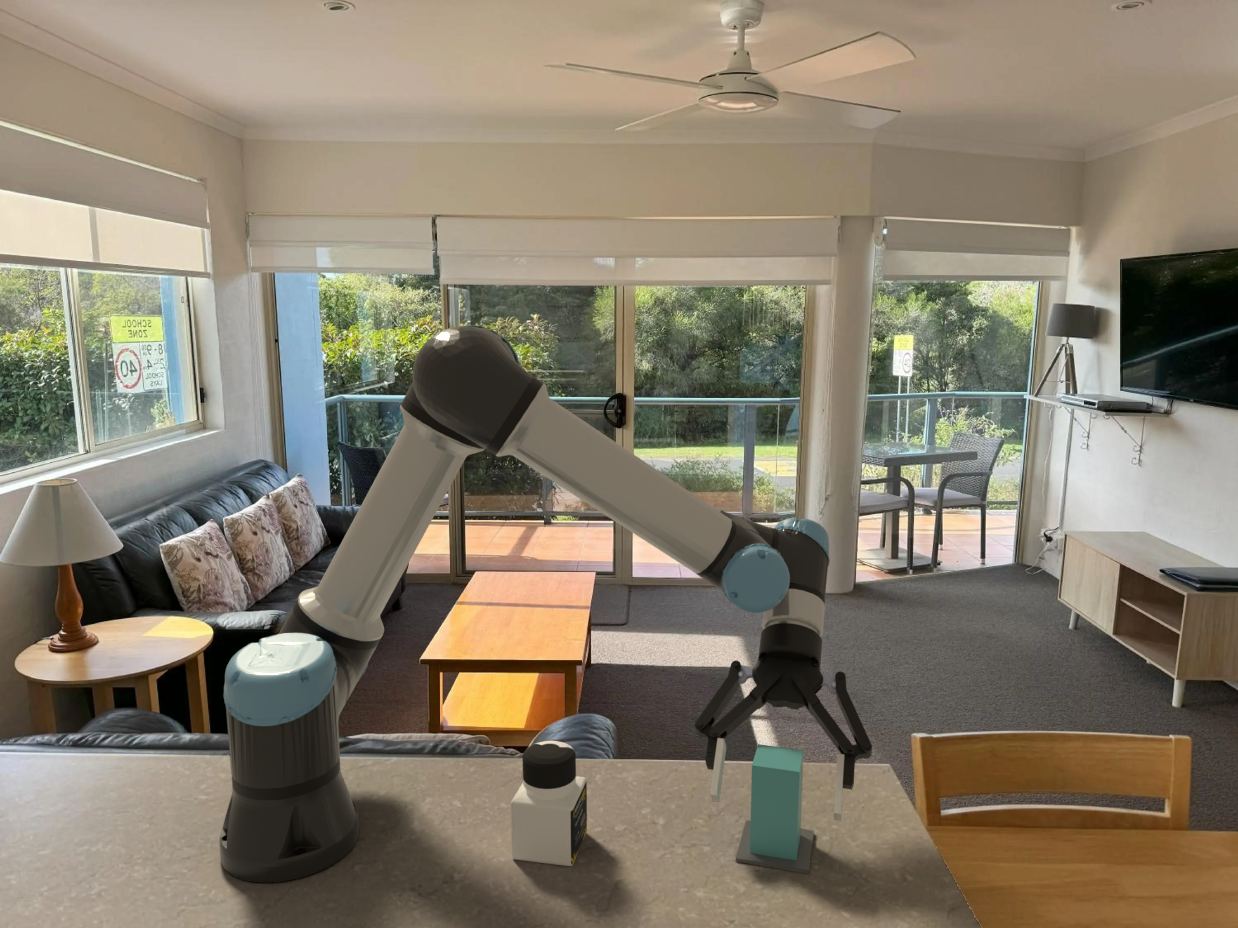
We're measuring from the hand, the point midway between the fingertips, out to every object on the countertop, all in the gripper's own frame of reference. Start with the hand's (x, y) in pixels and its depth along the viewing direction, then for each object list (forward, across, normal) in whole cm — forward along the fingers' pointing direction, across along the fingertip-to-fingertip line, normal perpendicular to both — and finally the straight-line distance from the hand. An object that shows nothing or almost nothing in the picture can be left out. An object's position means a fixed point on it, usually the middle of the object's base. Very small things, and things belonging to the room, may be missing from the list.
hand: (774, 807), depth 99 cm
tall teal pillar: (+2, 0, -6) cm, 6 cm away
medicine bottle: (+8, +25, -1) cm, 26 cm away
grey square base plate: (+3, 0, -6) cm, 7 cm away
